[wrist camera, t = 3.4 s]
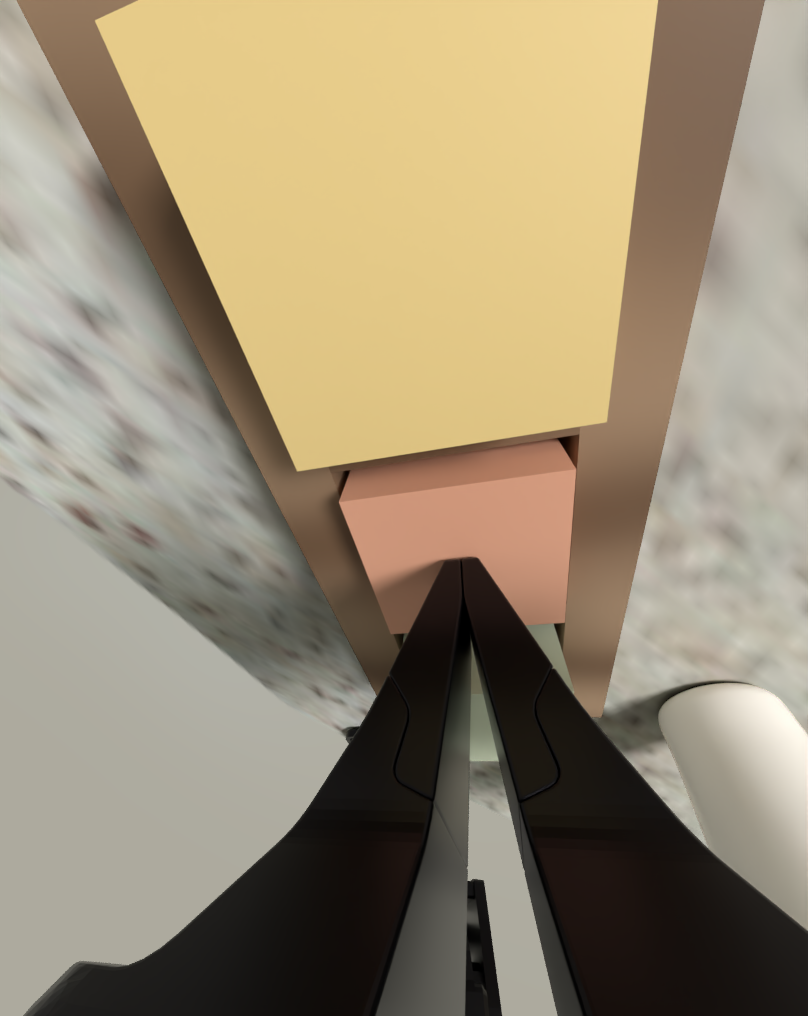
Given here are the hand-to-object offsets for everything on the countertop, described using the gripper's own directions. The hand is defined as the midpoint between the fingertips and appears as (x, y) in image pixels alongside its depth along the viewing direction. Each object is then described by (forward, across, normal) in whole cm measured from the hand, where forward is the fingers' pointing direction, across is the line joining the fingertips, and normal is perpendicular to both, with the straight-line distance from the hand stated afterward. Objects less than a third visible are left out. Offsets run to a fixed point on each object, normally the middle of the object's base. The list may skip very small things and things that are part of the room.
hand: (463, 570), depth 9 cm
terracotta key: (+3, 0, 0) cm, 3 cm away
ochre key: (+2, 0, -7) cm, 7 cm away
